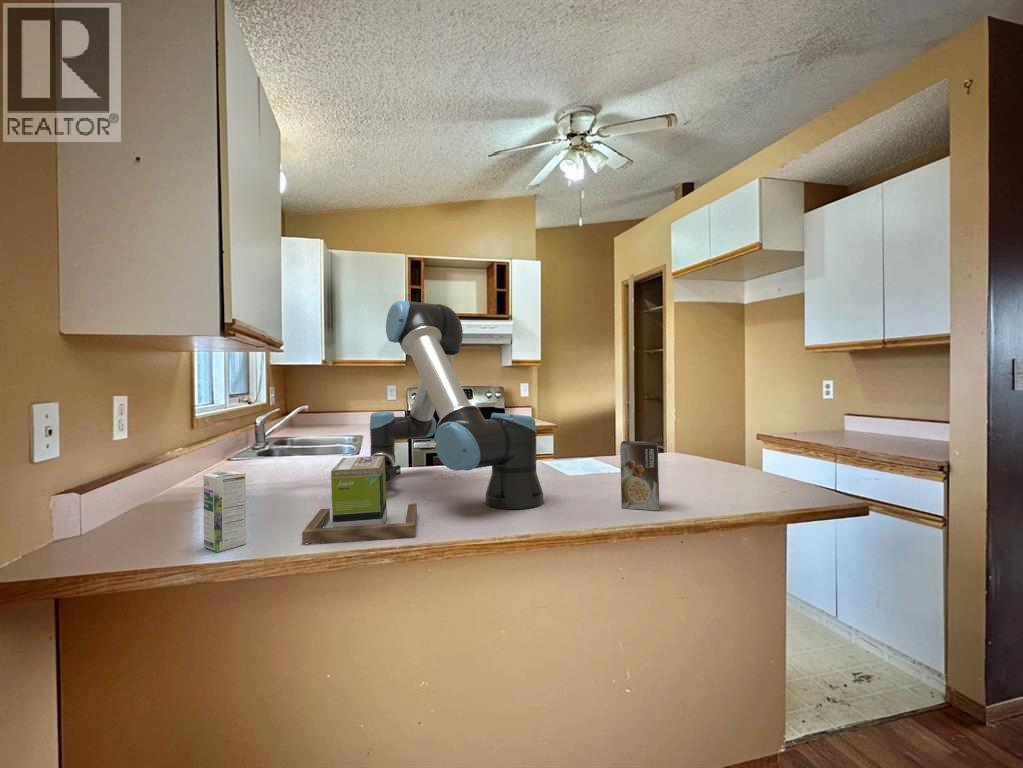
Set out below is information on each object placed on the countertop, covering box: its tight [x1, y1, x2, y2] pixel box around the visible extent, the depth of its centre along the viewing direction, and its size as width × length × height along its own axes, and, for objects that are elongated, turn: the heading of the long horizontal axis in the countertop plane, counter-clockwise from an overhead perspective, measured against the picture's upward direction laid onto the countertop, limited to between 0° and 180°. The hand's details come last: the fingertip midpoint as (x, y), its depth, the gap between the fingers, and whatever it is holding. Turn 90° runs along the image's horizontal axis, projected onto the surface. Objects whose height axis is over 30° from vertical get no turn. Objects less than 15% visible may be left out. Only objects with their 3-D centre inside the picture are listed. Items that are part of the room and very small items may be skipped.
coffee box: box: [619, 440, 661, 512], centre depth 123 cm, size 9×6×16 cm
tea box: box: [330, 455, 388, 527], centre depth 109 cm, size 15×10×15 cm, turn 10°
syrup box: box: [203, 470, 247, 553], centre depth 98 cm, size 6×6×14 cm
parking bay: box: [301, 503, 418, 545], centre depth 108 cm, size 22×18×2 cm
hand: (372, 482), depth 126 cm, fingers closed
